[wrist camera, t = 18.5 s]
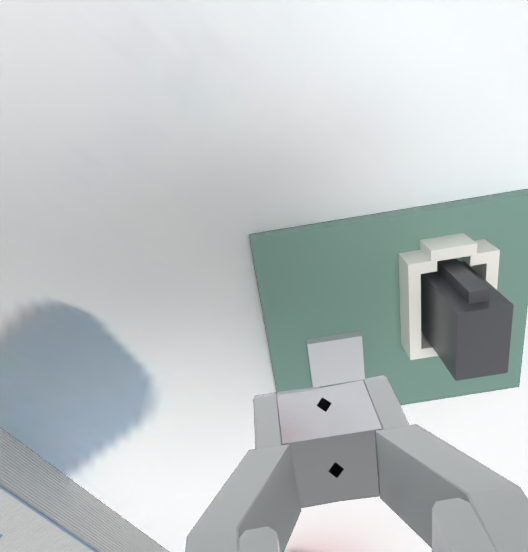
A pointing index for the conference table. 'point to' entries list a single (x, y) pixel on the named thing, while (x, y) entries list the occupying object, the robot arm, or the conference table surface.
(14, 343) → the conference table surface
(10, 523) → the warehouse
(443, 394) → the board
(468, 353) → the plug
